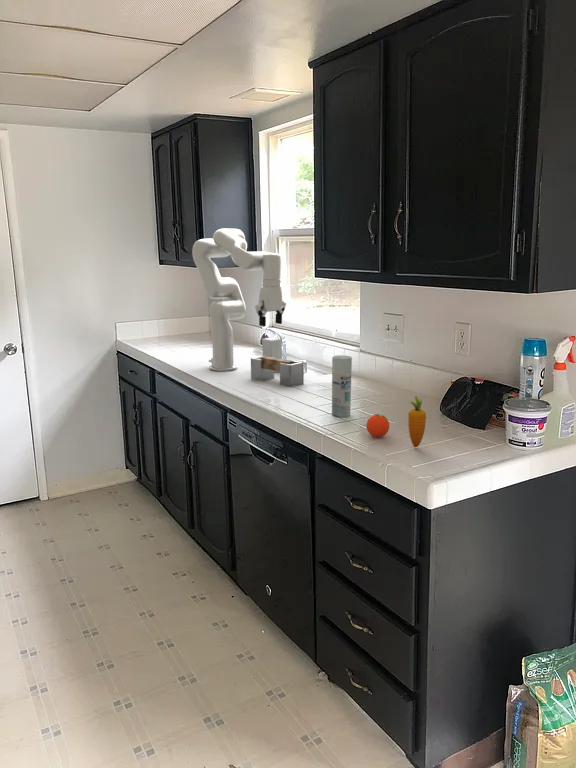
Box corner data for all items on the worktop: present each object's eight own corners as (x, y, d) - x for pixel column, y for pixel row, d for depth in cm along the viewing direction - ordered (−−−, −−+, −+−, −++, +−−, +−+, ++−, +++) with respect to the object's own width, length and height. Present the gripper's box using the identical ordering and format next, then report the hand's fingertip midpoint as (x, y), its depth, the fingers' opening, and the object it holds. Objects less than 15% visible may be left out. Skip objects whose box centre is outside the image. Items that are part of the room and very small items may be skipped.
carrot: (422, 451, 182) (425, 399, 179) (405, 449, 184) (407, 398, 181) (425, 446, 187) (428, 396, 183) (408, 444, 188) (410, 394, 185)
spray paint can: (340, 411, 225) (341, 354, 221) (354, 414, 220) (355, 357, 216) (327, 414, 221) (328, 357, 216) (341, 418, 216) (342, 359, 212)
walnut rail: (259, 367, 276) (259, 357, 275) (266, 366, 279) (266, 356, 278) (286, 372, 265) (286, 362, 264) (293, 371, 268) (293, 360, 267)
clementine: (390, 433, 199) (391, 411, 198) (394, 440, 193) (395, 417, 191) (364, 433, 199) (365, 411, 198) (367, 440, 192) (368, 417, 191)
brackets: (251, 378, 277) (250, 358, 275) (264, 376, 283) (263, 355, 281) (290, 386, 262) (290, 365, 260) (303, 383, 268) (303, 362, 266)
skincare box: (283, 371, 293) (282, 339, 290) (271, 373, 290) (271, 340, 286) (273, 368, 300) (273, 336, 296) (262, 370, 296) (261, 337, 293)
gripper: (279, 281, 275) (278, 321, 279) (249, 283, 263) (249, 325, 267) (292, 283, 270) (291, 323, 275) (262, 285, 258) (262, 327, 262)
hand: (270, 324), depth 271 cm, fingers open, 9 cm apart
